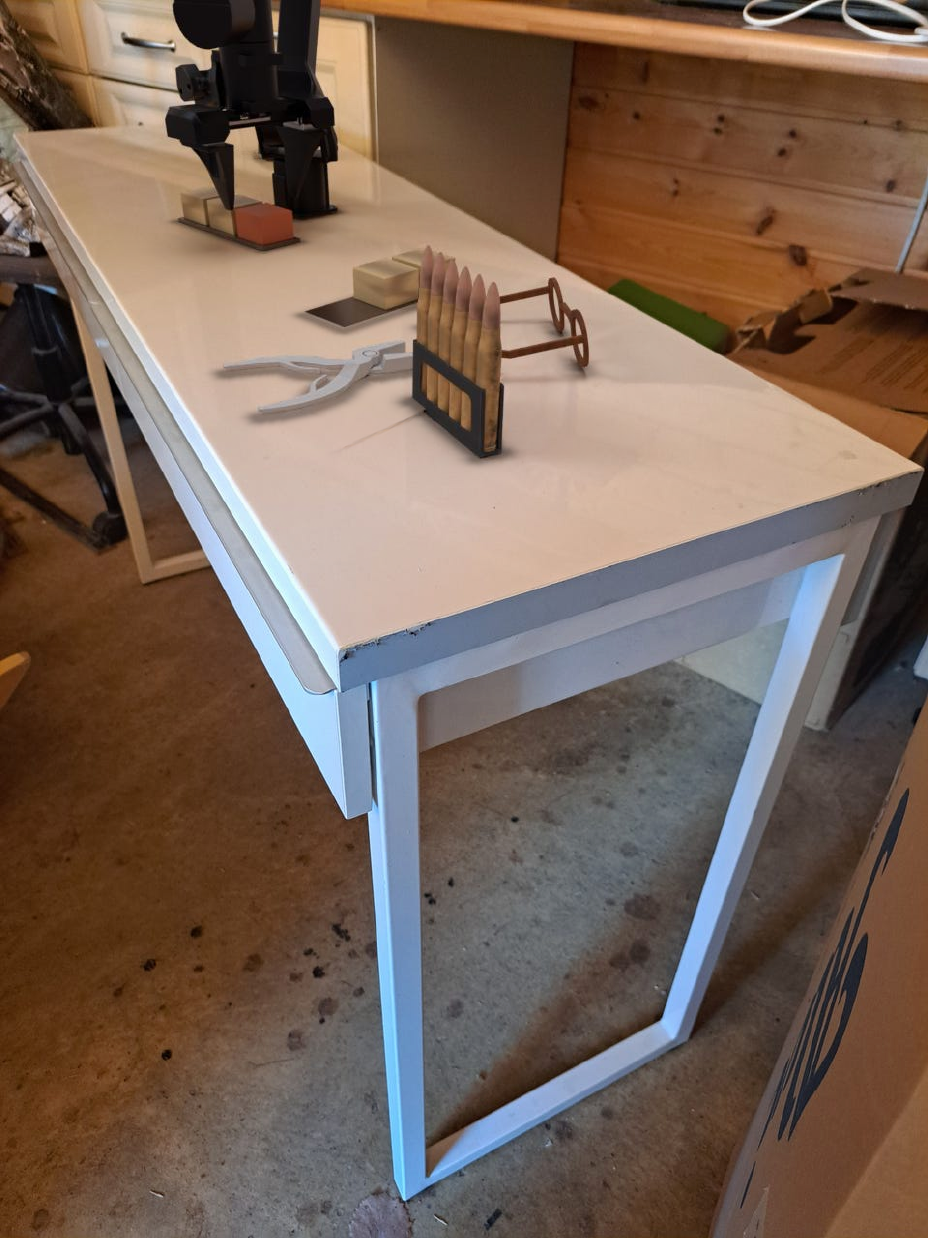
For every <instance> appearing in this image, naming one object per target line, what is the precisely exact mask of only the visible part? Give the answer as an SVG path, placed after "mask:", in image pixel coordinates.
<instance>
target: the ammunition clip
mask: <svg viewBox="0 0 928 1238" xmlns="http://www.w3.org/2000/svg"><path fill="white" fill-rule="evenodd" d="M431 247H432V246H431V245H430V244H427V245H426V247H425V251H424V254H423V258H422V263H421V271H420V286H419V299H418V303H416V304H417V305H416V338H414V339H412V353H413V366H412V369H411V371H412V372H411V373H412V374H411V375H412V376H411V398H412V399H413V400H414V401H415V402H417V403H418V404H419V405H420V406H422V408H424V409H423V410H422V411H423V412H424V413H425V414H426V415H427V416H428V417H430V418H431V419H432V420H433V421H434V422H436V423H437V424H439V426H441V427H442V428H443V429H444V430H445V431H446V432H448V433H449V434H450V435H451V436H452V437H454V438H455V439H456V440H457V441H458V442H460V443H461V444H462V445H464V447H466V448H467V449H468V450H469V451H470V452H471V453H473V454H474V455H475V456H477V457H478V458H480V459H481V458H484V457H488V456H492V455H497V454H500V453H502V451H503V450H502V448H503V425H504V400H505V399H504V398H505V385H504V383H502V382H501V372H502V358H501V357H502V350H503V347H502V339H501V333H502V331H501V315H502V313H501V310H502V309H501V304H500V298H499V296H500V293H499V290H498V286H497V283H496V282H495V281H492V282H491V283H490V285H489V287H488V290H487V292H486V287H485V283H484V278H483V276H482V274H481V273H477V275H476V277H475V278H474V281H473V283H472V277H471V273H470V270H469V267H468V266H467V265H465V266H463V267H462V269H461V272H460V274H459V270H458V265H457V263H456V259H455V260H454V259H451V261H450V263H449V265H448V268H446V263H445V259H444V256H443V254H444V253H443V252H442V251H438V252H439V253H438V255H437V257H436V260H435V261H434V256H433V252H432V251H433V249H432V248H431Z"/></svg>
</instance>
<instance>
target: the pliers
mask: <svg viewBox="0 0 928 1238" xmlns="http://www.w3.org/2000/svg"><path fill="white" fill-rule="evenodd" d="M351 351H352V358H345V359H344V358H328V357H323V356H313V355H276V356H264V357H263V356H262V357H256V358H255V357H254V358H248V359H243V360H238V361H233V362H229V363H225V364H223V366H222V367H223V370H224V371H225V372H230V371H237V370H239V371H240V370H247V369H257V368H271V367H280V368H284V369H288V370H289V371H293V372H297V373H301V374H311V375H320V374H321V369H322V370H340V371H339V373H338V374H337V375H336V376H335V377H334V378H333V379H332V380H331V381H329V382H328V383H327V384H325V385H324V386H322V387H320V388H318V386H320V385H321V384H322V383H324V382H325V381H327V380H328V375H327V374H322V375H320V376H319V377H317V378H316V379H314V380H313V381H312V383H311V384H310V388H309V391H308V393H305V394H302V395H299V396H297V397H293V398H290V399H286V400H281V401H278V402H275V403H274V402H273V403H271V404H267V405H262V406H257V412H258V413H259V415H267V414H277V413H282V412H283V413H284V412H288V411H293V410H297V409H303V408H306V407H310V406H314V405H316V404H319V403H322V402H325V401H327V400H330V399H332V398H334V397H337V396H339V395H341V394H342V393H344V392H345V391H347V390H348V389H349V387H351V386H352V384H354V383H356V382H358V381H359V380H361V379H364V378H365V377H366V376H369V375H371V376H372V375H384V374H389V373H396V372H405V371H410V370H412V366H413V352H406V341H404V340H402V339H398V340H397V339H396V340H393V341H388V342H382V343H377V344H373V345H366V346H364V347H361V348H357V349H353V350H351ZM317 388H318V389H317Z"/></svg>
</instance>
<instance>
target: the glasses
mask: <svg viewBox="0 0 928 1238" xmlns="http://www.w3.org/2000/svg"><path fill="white" fill-rule="evenodd" d="M554 292H555V296H556V299H557V300H556V301H557V306H558V315H557V312H556V311H557V310H556V306H555V298H554V297H555V296H554ZM545 295H548V303H549V304H548V305H549V309H550V314H551V319H552V322H553V325H554V327H555V329H556V331H557V332H563V331H564V330H565V326H566V325H565V323H566V322H565V320H566V319H565V317H566V318H567V320H568V322H569V326H570V336H569V337H563V338H561V339H556V340H551V341H546V342H542V343H536V344H531V345H528V346H523V347H519V348H513V349H510V350H508V349H502V357H501V359H508V360H511V359H517V358H521V357H525V356H526V357H527V356H530V355H536V354H539V353H544V352H548V351H554V350H557V349H563V348H567V347H572V348H573V352H574V356H575V358H576V361H577V363H578V365H579V366H580V367H581V368H587V367H588V366H589V362H590V346H589V338H588V332H587V331H588V330H587V327H586V323H585V320H584V317H583V315H582V313H581V311H580V310H579V309H578V308H576V309H572V310H571V308H570V307H569V306H568V303H566V301H564V299H563V294H562V290H561V287H560V285H559V282H558V280H557V278H556V277H554V276H553V277H549V278H548V280H547V286H546V285H545V286H541V287H536V288H532V289H528V290H523V291H518V292H513V293H509V294H505V295H499V298H500V305H503V304H506V303H512V302H516V301H521V300H526V299H530V298H536V297H539V296H545ZM577 323H578V327H579V330H580V334H579V335H577ZM580 344H582V353H581V350H580V347H579V345H580Z"/></svg>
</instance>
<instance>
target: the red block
mask: <svg viewBox="0 0 928 1238" xmlns="http://www.w3.org/2000/svg"><path fill="white" fill-rule="evenodd" d="M235 216H236V224H237V232H238V237H240V238H243V239H246V240H249V241H252V242H255V243H258V244H261V245H266V244H270V243H274V242H279V241H283V240H287V239H291V238H294V236H295V234H294V223H293V222H294V221H293V216H292V211H291V210H288V209H285V208H281V207H278V206H275V205H273V204H271V203H268V202H264V203H262V204H259V205H254V206H249V207H244V208H239V209H235Z"/></svg>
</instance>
